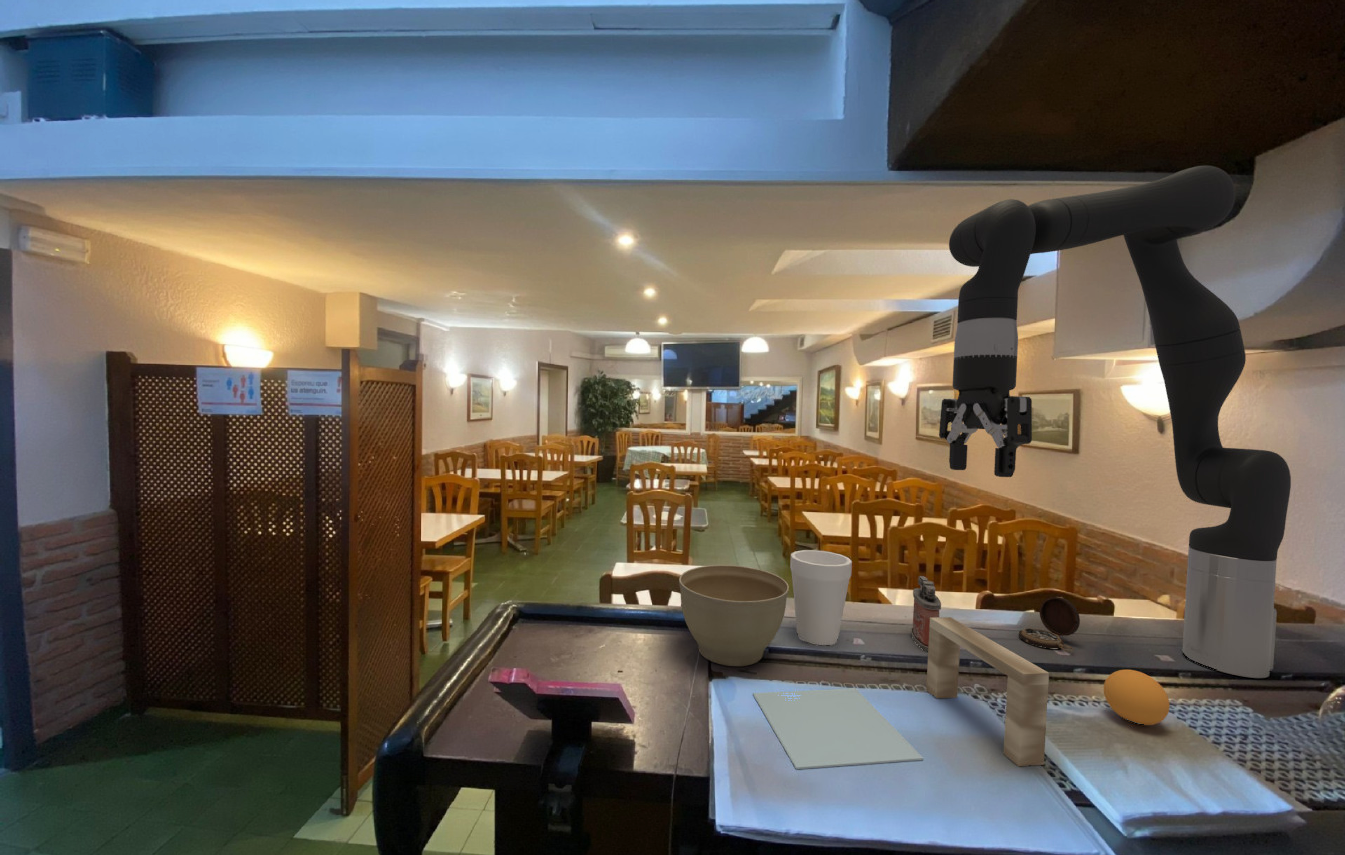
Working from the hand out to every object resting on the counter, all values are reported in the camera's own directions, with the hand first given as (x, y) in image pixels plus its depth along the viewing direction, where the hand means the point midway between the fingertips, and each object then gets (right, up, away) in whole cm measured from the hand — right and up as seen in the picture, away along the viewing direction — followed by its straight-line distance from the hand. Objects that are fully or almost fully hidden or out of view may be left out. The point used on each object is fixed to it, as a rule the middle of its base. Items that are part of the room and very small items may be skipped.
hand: (979, 473), depth 72 cm
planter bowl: (-34, -28, +6) cm, 44 cm away
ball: (+14, -26, -9) cm, 31 cm away
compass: (+19, -30, +13) cm, 38 cm away
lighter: (-2, -29, +12) cm, 31 cm away
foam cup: (-19, -28, +12) cm, 36 cm away
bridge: (-6, -29, -10) cm, 31 cm away
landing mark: (-24, -28, -12) cm, 39 cm away
